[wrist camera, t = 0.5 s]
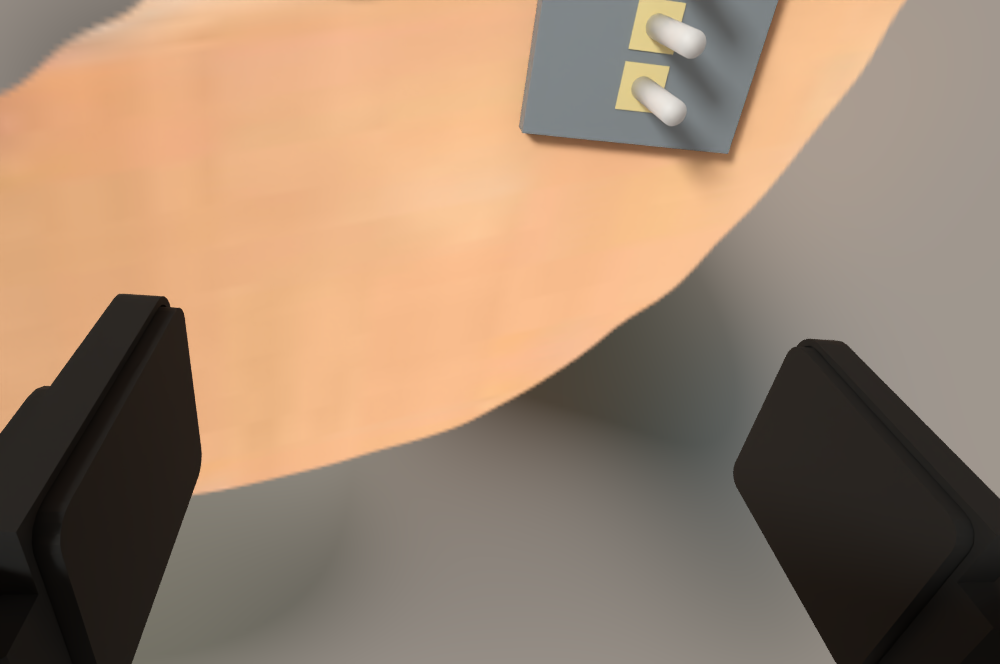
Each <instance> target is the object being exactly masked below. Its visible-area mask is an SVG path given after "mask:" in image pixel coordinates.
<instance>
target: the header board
mask: <svg viewBox="0 0 1000 664" xmlns="http://www.w3.org/2000/svg"><path fill="white" fill-rule="evenodd" d="M777 3H778V0H538V3H537V10H536V16H535V23H534V30H533V36H532V43H531V50H530V57H529V63H528V70H527V77H526V83H525V90H524V97H523V104H522V110H521V117H520V124H519V127H520V129H521V131H522V133H528V134H538V135H548V136H558V137H568V138H577V139H587V140H597V141H607V142H617V143H627V144H636V145H646V146H656V147H666V148H676V149H686V150H695V151H705V152H715V153H725V154H728V152H729V149H730V146H731V143H732V140H733V137H734V134H735V131H736V128H737V125H738V122H739V119H740V115H741V112H742V109H743V106H744V103H745V100H746V97H747V94H748V91H749V88H750V85H751V82H752V79H753V76H754V73H755V70H756V67H757V64H758V61H759V58H760V55H761V51H762V48H763V45H764V42H765V39H766V36H767V33H768V30H769V27H770V24H771V21H772V18H773V15H774V12H775V9H776V6H777Z"/></svg>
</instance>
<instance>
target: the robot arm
mask: <svg viewBox="0 0 1000 664" xmlns="http://www.w3.org/2000/svg"><path fill="white" fill-rule="evenodd" d="M201 457H202V452H201V443H200V435H199V427H198V419H197V411H196V403H195V395H194V388H193V380H192V372H191V364H190V356H189V348H188V340H187V332H186V325H185V317H184V313H183V311H182V309H181V308H173V307H170V304H169V302H168V299H167V298H166V297H164V296H149V295H133V294H118V295H117V296H116V297H115V298H114V299H113V301H112V302H111V303H110V305H109V306H108V307H107V309H106V310H105V312H104V313H103V314H102V316H101V317H100V318H99V320H98V321H97V323H96V324H95V325H94V327H93V328H92V329H91V331H90V332H89V334H88V335H87V336H86V338H85V339H84V340H83V342H82V343H81V345H80V346H79V347H78V349H77V350H76V351H75V353H74V354H73V356H72V357H71V358H70V360H69V361H68V362H67V364H66V365H65V367H64V368H63V369H62V371H61V372H60V373H59V375H58V376H57V378H56V379H55V380H54V382H53V383H52V384H51V386H43V387H40V388H37V389H36V390H35V391H34V392H33V393H32V394H31V395H30V396H28V398H27V399H26V400H25V402H24V403H23V404H22V406H21V407H20V408H19V410H18V411H17V412H16V414H15V415H14V416H13V417H12V419H11V420H10V421H9V423H8V424H7V425H6V427H5V428H4V429H3V431H2V432H1V433H0V664H132V661H133V658H134V655H135V653H136V650H137V647H138V644H139V641H140V639H141V635H142V633H143V630H144V627H145V625H146V622H147V619H148V616H149V613H150V611H151V608H152V605H153V602H154V599H155V596H156V594H157V591H158V588H159V585H160V582H161V580H162V577H163V574H164V571H165V568H166V566H167V563H168V560H169V557H170V555H171V551H172V549H173V546H174V543H175V540H176V538H177V535H178V532H179V529H180V527H181V523H182V520H183V518H184V515H185V512H186V510H187V507H188V504H189V501H190V499H191V496H192V493H193V490H194V487H195V485H196V482H197V479H198V476H199V472H200V467H201ZM733 474H734V475H733V476H734V482H735V484H736V487H737V489H738V490H739V492H740V494H741V496H742V497H743V499H744V501H745V502H746V504H747V506H748V508H749V510H750V512H751V513H752V515H753V517H754V519H755V520H756V522H757V524H758V526H759V528H760V529H761V531H762V533H763V534H764V536H765V538H766V540H767V542H768V544H769V545H770V547H771V549H772V550H773V552H774V554H775V556H776V558H777V559H778V561H779V563H780V565H781V566H782V568H783V570H784V572H785V573H786V575H787V577H788V579H789V581H790V582H791V584H792V586H793V588H794V589H795V591H796V593H797V595H798V597H799V598H800V600H801V602H802V604H803V605H804V607H805V609H806V610H807V613H808V614H809V616H810V618H811V620H812V621H813V623H814V625H815V627H816V628H817V630H818V632H819V634H820V636H821V637H822V639H823V641H824V642H825V644H826V646H827V648H828V650H829V651H830V653H831V655H832V657H833V658H834V660H835V662H836V663H837V664H1000V499H999V498H998V497H997V496H996V495H995V494H994V493H993V492H992V491H991V490H990V489H989V488H988V487H987V486H986V485H985V484H984V483H983V481H982V480H981V479H979V477H977V476H976V474H975V473H973V471H972V470H971V469H970V468H969V467H968V466H967V465H965V463H964V462H963V461H962V460H961V459H960V458H959V457H958V456H957V455H956V454H955V453H954V452H953V451H952V450H951V449H949V447H948V446H947V445H946V444H945V443H944V442H943V441H942V440H941V439H940V438H939V437H938V436H937V435H936V434H935V433H934V432H933V431H932V430H931V429H930V428H929V427H928V426H927V425H926V424H925V423H924V422H923V421H922V420H921V419H920V418H919V417H918V416H917V415H916V414H915V413H914V412H913V411H912V410H911V409H910V408H909V407H908V406H907V405H906V404H905V403H904V402H903V401H902V400H901V399H900V398H899V397H898V396H897V395H896V394H895V393H894V392H893V391H892V390H891V389H890V388H889V387H888V386H887V385H886V384H885V383H884V382H883V381H882V380H881V379H880V378H879V377H878V376H877V375H876V374H875V373H874V372H873V371H872V370H871V369H870V368H869V367H868V366H867V365H866V364H865V363H864V362H863V361H862V360H861V359H860V358H859V357H858V356H857V355H856V354H855V353H854V352H853V351H852V350H851V349H850V347H849V346H847V345H846V344H845V343H843V342H841V341H834V340H818V339H806V340H803V341H801V342H800V343H799V344H798V345H797V347H794V348H792V349H791V350H790V351H789V352H788V354H787V355H786V357H785V359H784V361H783V364H782V366H781V368H780V370H779V372H778V374H777V376H776V378H775V380H774V382H773V385H772V387H771V389H770V391H769V393H768V395H767V397H766V400H765V402H764V403H763V406H762V408H761V410H760V412H759V414H758V416H757V418H756V420H755V422H754V425H753V427H752V429H751V431H750V433H749V435H748V437H747V439H746V441H745V444H744V446H743V448H742V450H741V452H740V454H739V456H738V458H737V460H736V462H735V465H734V471H733Z"/></svg>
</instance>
